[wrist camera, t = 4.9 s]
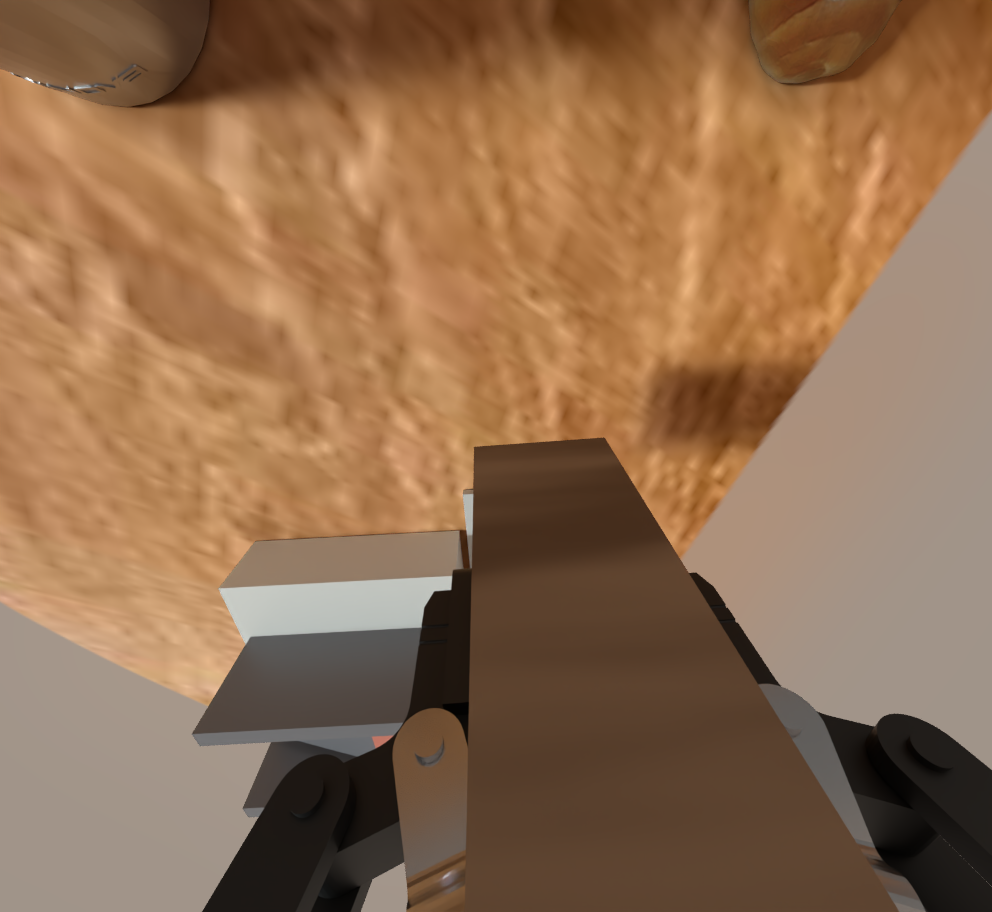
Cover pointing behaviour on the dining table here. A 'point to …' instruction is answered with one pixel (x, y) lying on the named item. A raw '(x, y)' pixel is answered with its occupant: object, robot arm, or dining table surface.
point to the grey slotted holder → (324, 644)
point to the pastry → (814, 34)
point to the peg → (624, 718)
